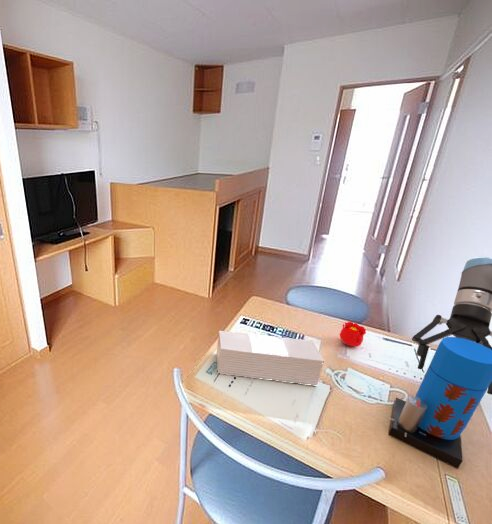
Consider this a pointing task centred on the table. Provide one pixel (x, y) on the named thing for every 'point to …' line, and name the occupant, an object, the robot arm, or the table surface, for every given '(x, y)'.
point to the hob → (426, 439)
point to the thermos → (454, 386)
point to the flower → (352, 334)
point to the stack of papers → (268, 357)
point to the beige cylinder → (412, 414)
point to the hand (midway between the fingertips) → (453, 380)
